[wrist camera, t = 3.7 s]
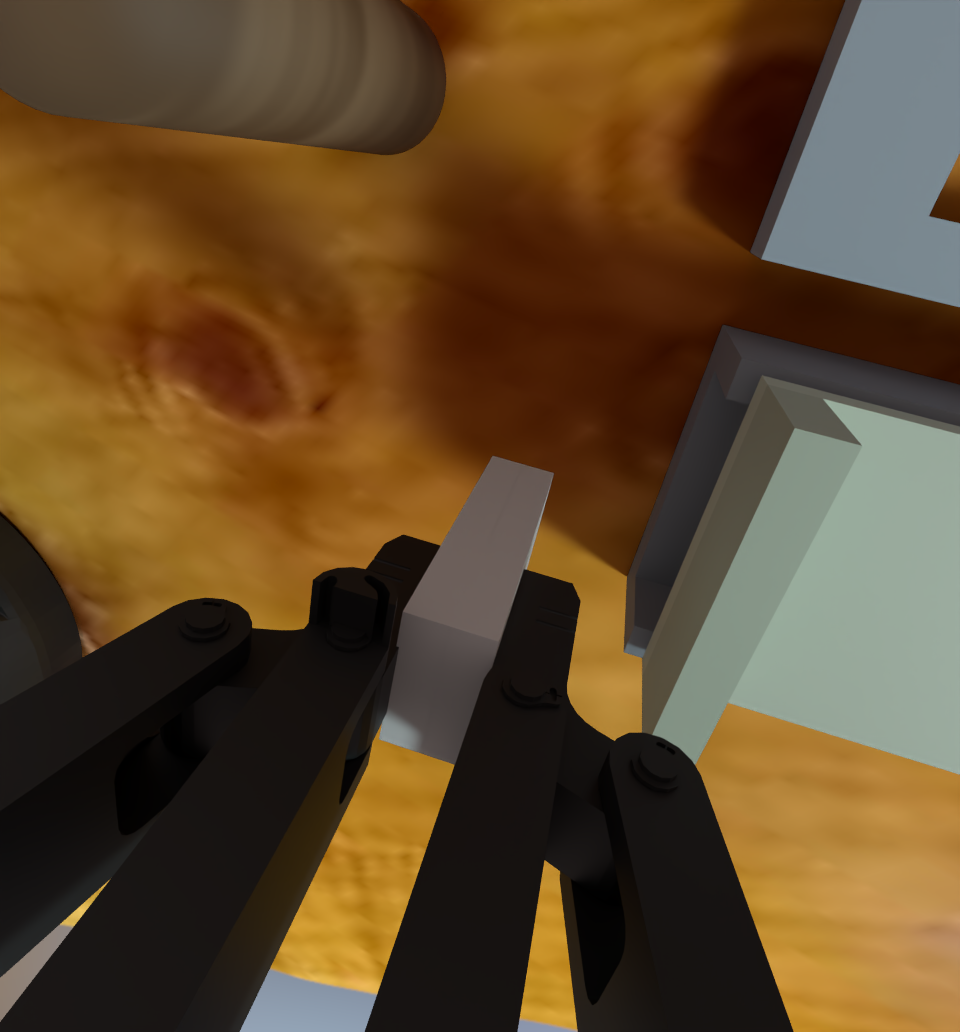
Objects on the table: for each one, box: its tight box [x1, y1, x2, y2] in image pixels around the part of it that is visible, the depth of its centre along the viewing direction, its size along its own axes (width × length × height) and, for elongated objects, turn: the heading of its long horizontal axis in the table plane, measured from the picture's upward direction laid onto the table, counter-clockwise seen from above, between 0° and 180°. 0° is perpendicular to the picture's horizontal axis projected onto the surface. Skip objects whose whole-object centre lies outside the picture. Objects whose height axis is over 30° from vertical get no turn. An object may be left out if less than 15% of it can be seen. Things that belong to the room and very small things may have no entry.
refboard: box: [624, 325, 960, 658], centre depth 19 cm, size 12×9×4 cm
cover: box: [642, 375, 960, 774], centre depth 15 cm, size 11×9×4 cm
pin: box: [0, 0, 446, 155], centre depth 13 cm, size 4×4×12 cm
